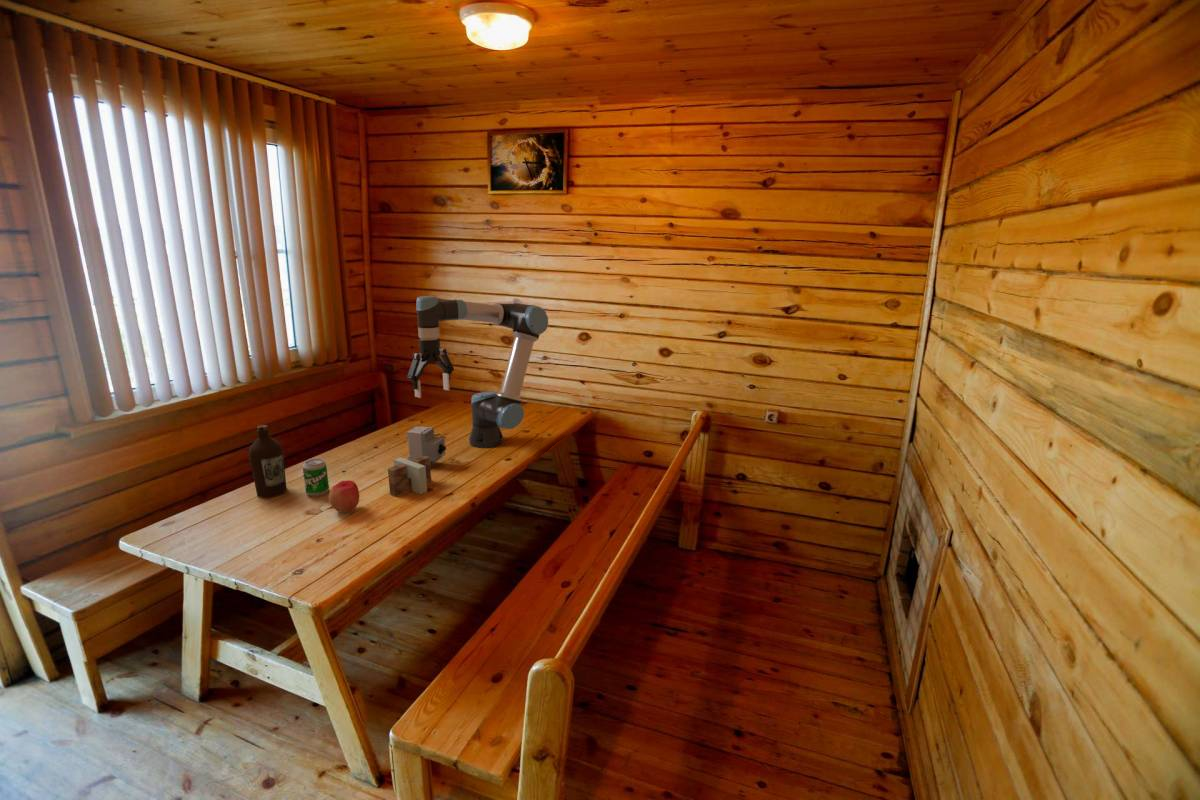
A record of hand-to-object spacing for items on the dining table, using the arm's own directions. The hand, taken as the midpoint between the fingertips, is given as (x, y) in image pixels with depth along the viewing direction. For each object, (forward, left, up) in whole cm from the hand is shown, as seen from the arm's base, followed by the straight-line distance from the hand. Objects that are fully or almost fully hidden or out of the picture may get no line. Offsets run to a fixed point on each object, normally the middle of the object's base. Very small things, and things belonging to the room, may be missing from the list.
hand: (432, 393), depth 220 cm
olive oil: (+57, -12, -32) cm, 66 cm away
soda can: (+43, -3, -32) cm, 54 cm away
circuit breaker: (+1, -7, -32) cm, 33 cm away
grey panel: (+14, +11, -32) cm, 36 cm away
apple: (+38, +17, -32) cm, 52 cm away
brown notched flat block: (+14, +11, -32) cm, 36 cm away
